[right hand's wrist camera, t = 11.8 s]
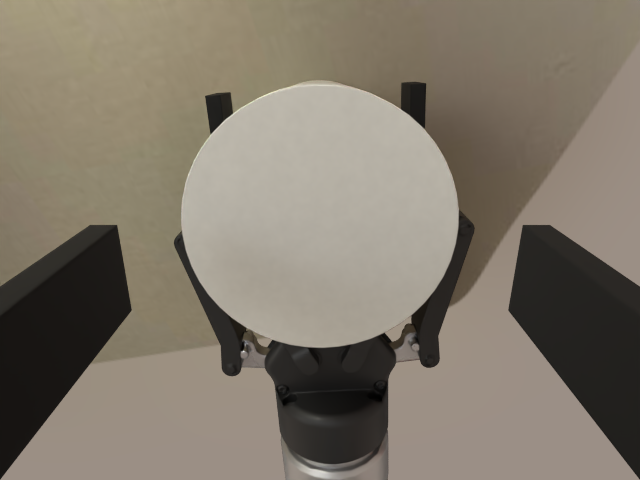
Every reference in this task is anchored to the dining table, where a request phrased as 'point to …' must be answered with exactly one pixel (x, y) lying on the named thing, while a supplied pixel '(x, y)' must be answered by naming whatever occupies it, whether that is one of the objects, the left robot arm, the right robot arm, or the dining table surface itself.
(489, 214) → the dining table surface
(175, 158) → the dining table surface
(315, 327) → the lid
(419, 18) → the dining table surface
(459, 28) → the dining table surface
